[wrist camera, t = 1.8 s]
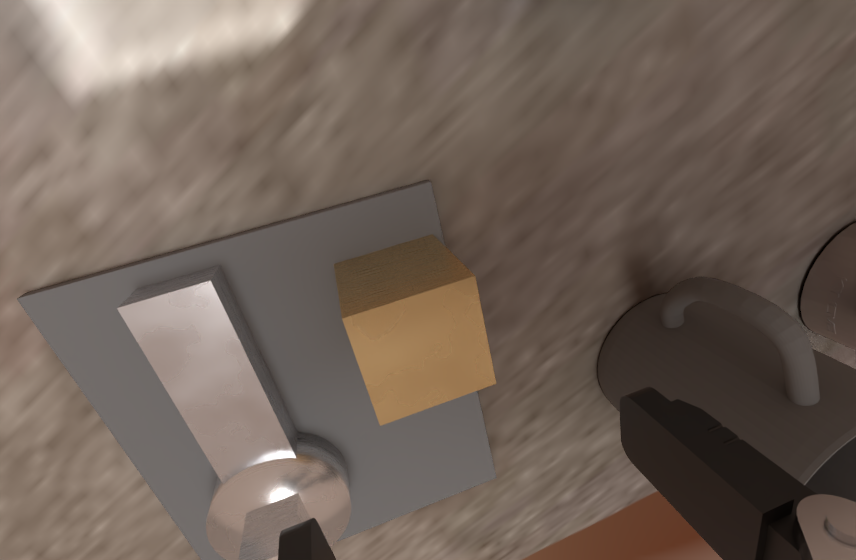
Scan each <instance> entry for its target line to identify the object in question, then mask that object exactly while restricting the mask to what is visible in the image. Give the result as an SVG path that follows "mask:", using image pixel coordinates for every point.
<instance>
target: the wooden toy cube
mask: <svg viewBox="0 0 856 560" xmlns="http://www.w3.org/2000/svg"><path fill="white" fill-rule="evenodd" d="M334 270H335V277H336V283H337V290H338V296H339V303H340V309H341V316H342V320H343V323H344V326H345V329H346V332H347V334H348V337H349V340H350V343H351V346H352V348H353V351H354V354H355V357H356V360H357V362H358V365H359V368H360V371H361V374H362V377H363V379H364V382H365V385H366V388H367V391H368V393H369V396H370V399H371V402H372V405H373V407H374V410H375V413H376V416H377V419H378V421H379V424H380V426H382V425H384V424H387V423H390V422H392V421H395V420H398V419H401V418H403V417H406V416H409V415H412V414H414V413H417V412H420V411H423V410H425V409H428V408H431V407H434V406H436V405H439V404H442V403H445V402H447V401H450V400H453V399H456V398H458V397H461V396H464V395H467V394H469V393H472V392H475V391H478V390H480V389H483V388H486V387H489V386H491V385H494V384H496V380H495V375H494V370H493V365H492V360H491V354H490V349H489V344H488V339H487V334H486V329H485V324H484V319H483V314H482V308H481V303H480V298H479V293H478V288H477V283H476V278H475V275H474V274H473V273H472V272H471V271H470V270H469V269H468V268H467V267H466V266H465V265H463V264H462V263H461V262H460V261H459V260H458V259H457V258H456V257H455V256H454V255H453V254H452V253H451V252H450V251H449V250H448V249H447V248H446V247H445V246H444V245H443V244H442V243H441V242H440V241H439V240H438V239H437V238H436V237H435V236H434V235H433V234H431V235H428V236H425V237H421V238H418V239H415V240H411V241H408V242H405V243H401V244H398V245H395V246H391V247H388V248H385V249H382V250H378V251H375V252H372V253H368V254H365V255H362V256H358V257H355V258H352V259H348V260H345V261H342V262H338V263H335V264H334Z"/></svg>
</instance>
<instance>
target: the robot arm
mask: <svg viewBox="0 0 856 560" xmlns="http://www.w3.org/2000/svg"><path fill="white" fill-rule="evenodd" d="M800 309H801V315H802V319H803V321H804V323H805V325H806V326H807V327H808V328H809V329H810V330H811V331H813V332H815V333H817V334H820V335H822V336H824V337H826V338H829V339H831V340H833V341H836V342H838V343H840V344H842V345H845V346H847V347H849V348H852V349H854V350H856V222H855V223H854V224H852V225H850V226H849V227H847V228H846V229H845V230H843V231H842V232H841V233H840V234H838V235H837V236H836V237H835V238H834V239H833V240H832V241H831V242H830V243H829V244H828V245H827V246H826V248H825V249H824V250H823V252H822V253H821V254H820V256H819V257H818V258H817V260H816V262H815V263H814V265H813V267H812V269H811V270H810V272H809V275H808V277H807V279H806V282H805V284H804V288H803V292H802V296H801V307H800ZM620 426H621V442H622V445H623V448H624V450H625V452H626V454H627V456H628V458H629V459H630V461H631V462H632V463H633V464H634V465H635V466H636V468H637V469H638V470H639V471H640V472H641V473H642V474H643V475H644V476H645V477H646V478H647V479H648V480H649V481H650V482H651V484H652V485H653V486H654V487H655V488H656V489H657V490H658V491H659V492H660V493H661V494H662V495H663V496H664V497H665V498H666V499H667V501H668V502H670V504H671V505H672V506H673V507H674V508H675V509H676V510H677V511H678V512H679V513H680V514H681V515H682V517H683V518H684V519H685V520H686V521H687V522H688V523H689V524H690V525H691V526H692V527H693V528H694V529H695V530H696V531H697V533H698V534H699V535H700V536H701V537H702V538H703V539H704V540H705V541H706V542H707V543H708V544H709V545H710V546H711V547H712V548H713V550H714V551H715V552H716V553H717V554H718V555H719V556H720V557H721V558H722V559H723V560H856V502H854V501H851V500H849V499H846V498H842V497H839V496H834V495H826V494H817V493H815V492H813V491H812V490H810V489H809V488H808V487H806V486H805V485H803V484H802V483H801V482H799V481H798V480H797V479H795V478H794V477H793V476H791V475H790V474H789V473H787V472H786V471H785V470H783V469H782V468H781V467H779V466H778V465H776V464H775V463H774V462H772V461H771V460H770V459H768V458H767V457H766V456H764V455H763V454H762V453H760V452H759V451H758V450H756V449H755V448H754V447H752V446H751V445H750V444H748V443H747V442H746V441H744V440H743V439H742V440H740V439H739V437H738V436H737V435H736V434H735V433H733V432H732V431H731V430H729V429H728V428H727V427H723V426H722V424H721V423H720V422H719V421H717V420H716V419H715V418H713V417H712V416H711V415H709V414H708V413H707V412H705V411H704V410H703V409H701V408H698V407H696V406H694V405H691V404H689V403H686V402H684V401H681V400H679V399H676V400H674V401H670V400H668V399H667V398H666V397H665V396H663V395H662V394H661V393H659V392H658V391H657V390H655V389H654V388H652V387H646V388H643V389H640V390H638V391H635V392H633V393H630V394H628V395H625V396H623V397H621V399H620ZM278 560H336V559H335V556H334V554H333V552H332V550H331V548H330V546H329V544H328V542H327V540H326V538H325V536H324V534H323V532H322V530H321V528H320V526H319V524H318V522H317V520H316V519H315V518H311V519H309V520H306V521H304V522H301V523H299V524H296V525H294V526H291V527H289V528H286V529H284V530H282V531H281V533H280V536H279V549H278Z"/></svg>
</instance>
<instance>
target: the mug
mask: <svg viewBox="0 0 856 560" xmlns="http://www.w3.org/2000/svg"><path fill="white" fill-rule="evenodd" d="M598 379H599V383H600V386H601V388H602V391H603V393H604V394H605V396H606V397H607V398H608V400H609V401H610V402H611V403H612V404H613V406H614V407H615V408H616V409H617V410H618V411H619V412H620V399H621V397H623V396H625V395H628V394H630V393H633V392H635V391H638V390H640V389H643V388H646V387H652V388H654V389H655V390H657V391H658V392H659V393H661V394H662V395H663V396H665V397H666V398H667V399H668V400H670V401H674V400H676V399H679V400H681V401H684V402H686V403H689V404H691V405H694V406H696V407H698V408H701V409H703V410H704V411H705V412H707V413H708V414H709V415H711V416H712V417H713V418H715V419H716V420H717V421H719V422H720V423H721V424H722V426H723V427H727V428H728V429H729V430H731V431H732V432H733V433H735V434H736V435H737V436H738V437H739V439H740V440H742V439H743V440H744V441H746V442H747V443H748V444H750V445H751V446H752V447H754V448H755V449H756V450H758V451H759V452H760V453H762V454H763V455H764V456H766V457H767V458H768V459H770V460H771V461H772V462H774V463H775V464H776V465H778V466H779V467H781V468H782V469H783V470H785V471H786V472H787V473H789V474H790V475H791V476H793V477H794V478H795V479H797V480H798V481H799V482H801V483H802V484H803V485H805V486H806V487H808V488H809V489H810V490H812V491H813V492H815V493H817V494H826V495H834V496H839V497H842V498H846V499H849V500H851V501H854V502H856V369H854V368H852V367H850V366H848V365H846V364H843V363H841V362H839V361H837V360H835V359H833V358H831V357H829V356H827V355H825V354H822V353H820V352H818V351H816V350H814V349H812V346H811V343H810V341H809V339H808V337H807V334H806V332H805V331H804V330H803V328H802V327H801V326H800V324H799V323H798V322H797V321H796V320H795V319H794V318H792V317H791V316H790V315H789V314H788V313H786V312H785V311H784V310H782V309H781V308H780V307H778V306H777V305H775V304H773V303H772V302H770V301H768V300H766V299H765V298H763V297H761V296H759V295H757V294H755V293H752V292H750V291H748V290H745V289H743V288H741V287H739V286H736V285H733V284H730V283H727V282H724V281H721V280H718V279H714V278H707V277H695V278H690V279H687V280H685V281H683V282H681V283H679V284H677V285H676V286H675V287H673V288H672V289H671V290H670V291H669V292H668V293H665V294H661V295H657V296H654V297H651V298H649V299H647V300H645V301H643V302H641V303H640V304H638V305H637V306H635V307H634V308H632V309H631V310H630V311H629V312H627V313H626V314H625V315H624V316H623V317H622V318H621V319H620V320H619V321H618V323H617V324H616V325H615V326H614V328H613V329H612V330H611V332H610V333H609V335H608V337H607V338H606V340H605V343H604V345H603V347H602V350H601V353H600V356H599V361H598Z"/></svg>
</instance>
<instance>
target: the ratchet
mask: <svg viewBox="0 0 856 560" xmlns="http://www.w3.org/2000/svg"><path fill="white" fill-rule="evenodd" d="M117 309H118V311H119V313H120V314H121V316H122V318H123V319H124V321H125V323H126V324H127V326H128V328H129V329H130V331H131V332H132V334H133V336H134V337H135V339H136V341H137V342H138V344H139V346H140V347H141V349H142V351H143V352H144V354H145V356H146V357H147V359H148V361H149V362H150V364H151V366H152V367H153V369H154V371H155V372H156V374H157V376H158V377H159V379H160V381H161V382H162V384H163V386H164V387H165V389H166V391H167V392H168V394H169V396H170V397H171V399H172V400H173V402H174V404H175V405H176V407H177V409H178V410H179V412H180V414H181V415H182V417H183V419H184V420H185V422H186V424H187V425H188V427H189V429H190V430H191V432H192V434H193V435H194V437H195V439H196V440H197V442H198V444H199V445H200V447H201V449H202V450H203V452H204V454H205V455H206V457H207V459H208V460H209V462H210V464H211V465H212V467H213V469H214V470H215V472H216V473H217V475H218V477H217V481H216V485H215V489H214V493H213V497H212V501H211V504H210V508H209V512H208V516H207V520H206V533H207V537H208V540H209V542H210V544H211V546H212V547H213V549H214V550H215V551H216V552H217V553H218V554H219V555H220V556H221V557H222V558H224V559H226V560H278V549H279V536H280V533H281V531H282V530H284V529H286V528H289V527H291V526H294V525H296V524H299V523H301V522H304V521H306V520H309V519H311V518H315V519H316V520H317V522H318V524H319V526H320V528H321V530H322V532H323V534H324V536H325V538H326V540H327V542H328V544H329V546H330V547H331V546H332V545H333V544H334V543H335V542H336V541H337V540H338V539H339V538H340V536H341V535H342V534H343V532H344V531H345V529H346V527H347V525H348V522H349V519H350V515H351V502H350V492H349V482H348V473H347V465H346V462H345V459H344V457H343V455H342V454H341V452H340V451H339V450H338V448H336V447H335V446H334V445H333V444H332V443H331V442H329V441H328V440H326V439H324V438H322V437H320V436H317V435H314V434H311V433H307V432H300V431H297V429H296V427H295V425H294V422H293V420H292V418H291V416H290V414H289V412H288V410H287V407H286V405H285V403H284V401H283V399H282V397H281V394H280V392H279V390H278V388H277V386H276V384H275V382H274V379H273V377H272V375H271V373H270V371H269V369H268V366H267V364H266V362H265V360H264V358H263V356H262V354H261V351H260V349H259V347H258V345H257V343H256V341H255V339H254V336H253V334H252V332H251V330H250V328H249V326H248V323H247V321H246V319H245V317H244V315H243V313H242V311H241V308H240V306H239V304H238V302H237V300H236V298H235V296H234V293H233V291H232V289H231V287H230V285H229V283H228V280H227V278H226V276H225V274H224V272H223V270H222V268H221V265H217V266H214V267H210V268H207V269H204V270H200V271H197V272H193V273H190V274H186V275H183V276H179V277H176V278H173V279H169V280H166V281H162V282H159V283H155V284H152V285H148V286H145V287H142V288H138V289H136V290H135V291H134V292H133V293H132V294H131V295H130V296H129V297H128V298H127V299H126V300H125V301H124V302H123V303H122V304H121V305H120V306H119V307H118V308H117Z"/></svg>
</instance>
